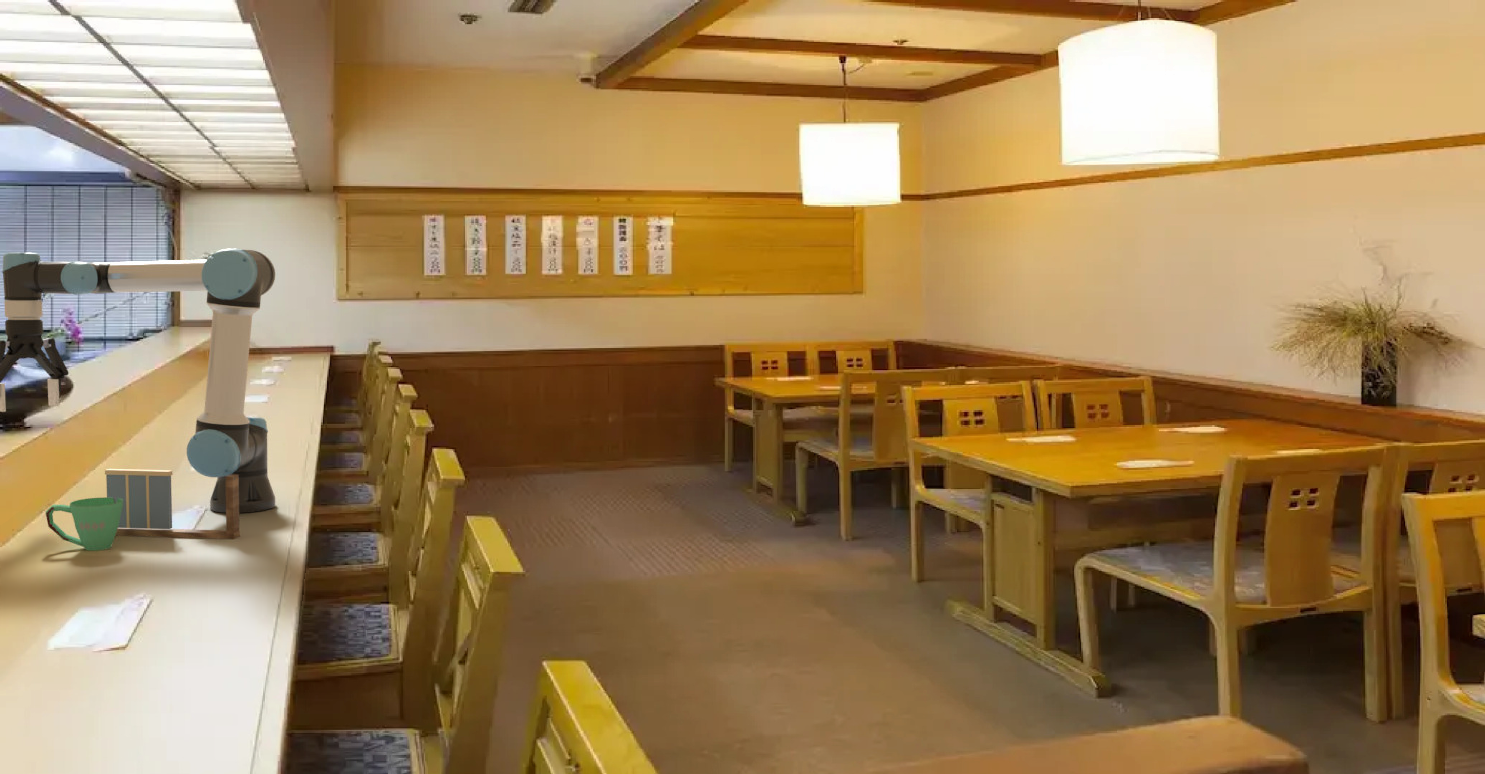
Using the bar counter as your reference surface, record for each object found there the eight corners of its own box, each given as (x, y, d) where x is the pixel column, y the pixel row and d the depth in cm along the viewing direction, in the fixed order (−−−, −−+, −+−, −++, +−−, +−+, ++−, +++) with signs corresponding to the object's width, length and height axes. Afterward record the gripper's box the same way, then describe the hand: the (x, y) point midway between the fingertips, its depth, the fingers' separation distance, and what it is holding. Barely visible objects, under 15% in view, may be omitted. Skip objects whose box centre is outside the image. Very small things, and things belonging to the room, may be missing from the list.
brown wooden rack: (239, 536, 260) (238, 474, 259) (234, 538, 258) (233, 476, 256) (104, 532, 261) (102, 470, 260) (97, 535, 258) (95, 472, 257)
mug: (129, 542, 252) (128, 496, 251) (116, 552, 243) (115, 505, 242) (54, 544, 249) (53, 498, 248) (38, 555, 239) (37, 507, 238)
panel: (173, 527, 260) (172, 470, 259) (169, 529, 258) (168, 471, 257) (110, 526, 260) (108, 468, 259) (106, 527, 259) (104, 470, 258)
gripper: (60, 317, 285) (64, 402, 287) (-40, 319, 262) (-36, 412, 264) (82, 317, 282) (86, 404, 284) (-17, 320, 259) (-13, 414, 261)
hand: (27, 408), depth 274 cm, fingers open, 13 cm apart
